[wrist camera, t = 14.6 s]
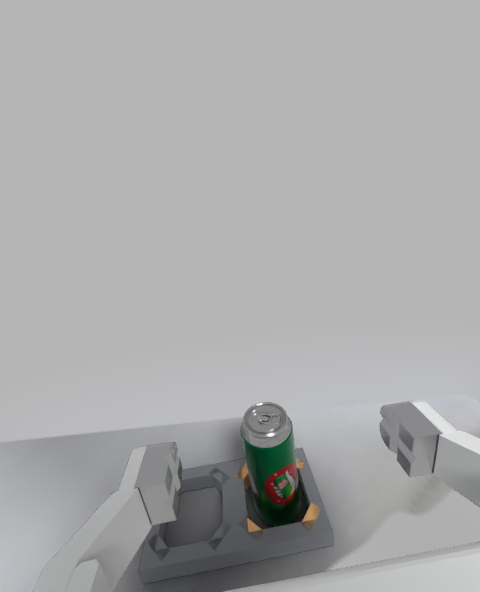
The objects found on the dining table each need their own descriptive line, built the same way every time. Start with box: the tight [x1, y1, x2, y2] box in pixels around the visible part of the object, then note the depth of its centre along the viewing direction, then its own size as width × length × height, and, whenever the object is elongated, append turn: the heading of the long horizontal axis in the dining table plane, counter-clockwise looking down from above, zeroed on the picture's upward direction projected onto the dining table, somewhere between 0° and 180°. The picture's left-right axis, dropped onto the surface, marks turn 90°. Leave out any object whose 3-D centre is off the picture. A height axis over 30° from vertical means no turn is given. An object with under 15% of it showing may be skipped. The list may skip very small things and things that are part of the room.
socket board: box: [138, 448, 334, 584], centre depth 28 cm, size 18×9×2 cm, turn 94°
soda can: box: [241, 402, 301, 526], centre depth 27 cm, size 5×5×12 cm
